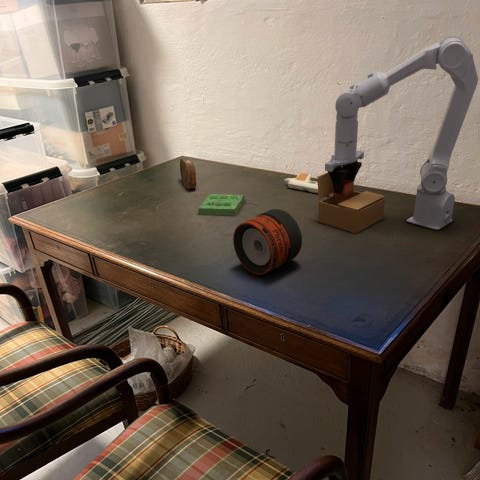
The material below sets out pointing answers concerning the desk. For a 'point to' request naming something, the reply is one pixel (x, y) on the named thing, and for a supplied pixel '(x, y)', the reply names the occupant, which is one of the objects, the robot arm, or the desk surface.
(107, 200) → the desk surface
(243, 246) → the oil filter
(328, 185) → the flap
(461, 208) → the desk surface
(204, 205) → the carved green slab
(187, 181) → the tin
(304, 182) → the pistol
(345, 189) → the block
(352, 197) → the carton
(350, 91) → the robot arm
